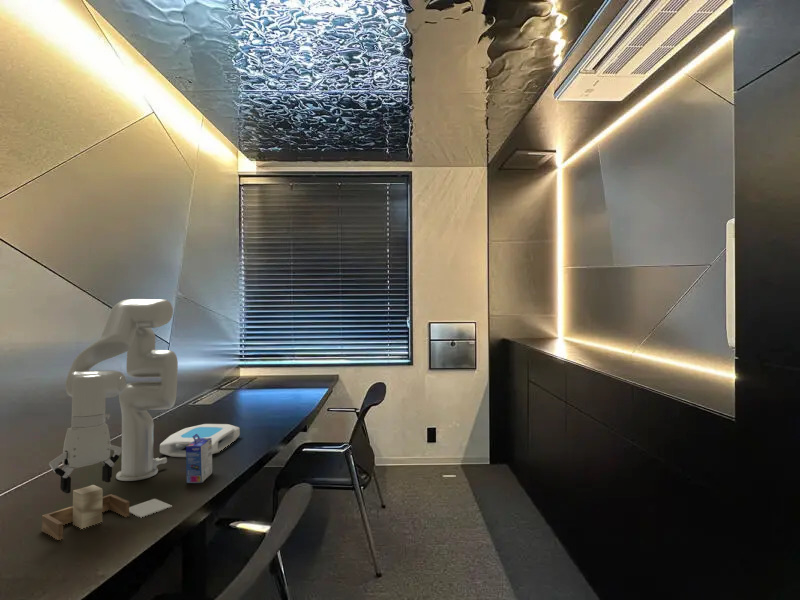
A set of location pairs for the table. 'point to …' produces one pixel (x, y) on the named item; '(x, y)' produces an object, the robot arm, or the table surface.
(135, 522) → the table surface
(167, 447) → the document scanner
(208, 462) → the ink cartridge box
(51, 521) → the u-shaped frame
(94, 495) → the block
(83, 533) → the table surface
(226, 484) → the table surface
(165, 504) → the mat
